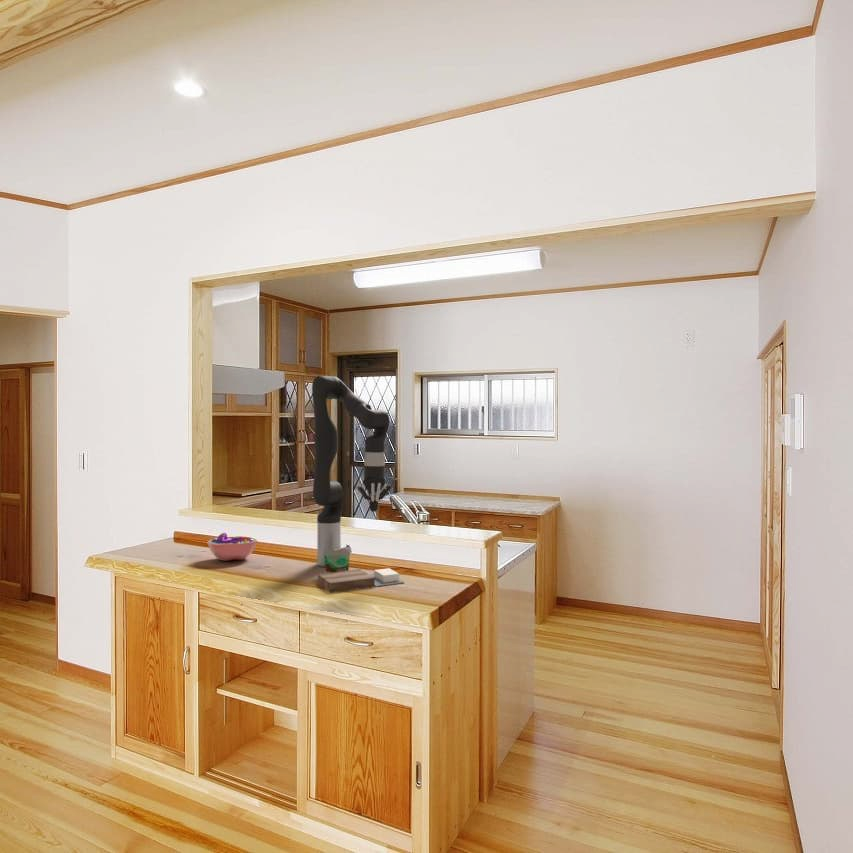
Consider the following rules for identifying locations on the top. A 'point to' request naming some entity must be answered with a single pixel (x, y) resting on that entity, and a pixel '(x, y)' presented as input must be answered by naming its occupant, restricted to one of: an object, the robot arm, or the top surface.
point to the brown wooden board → (346, 580)
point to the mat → (380, 583)
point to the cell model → (231, 547)
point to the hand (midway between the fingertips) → (373, 511)
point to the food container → (337, 559)
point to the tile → (386, 575)
